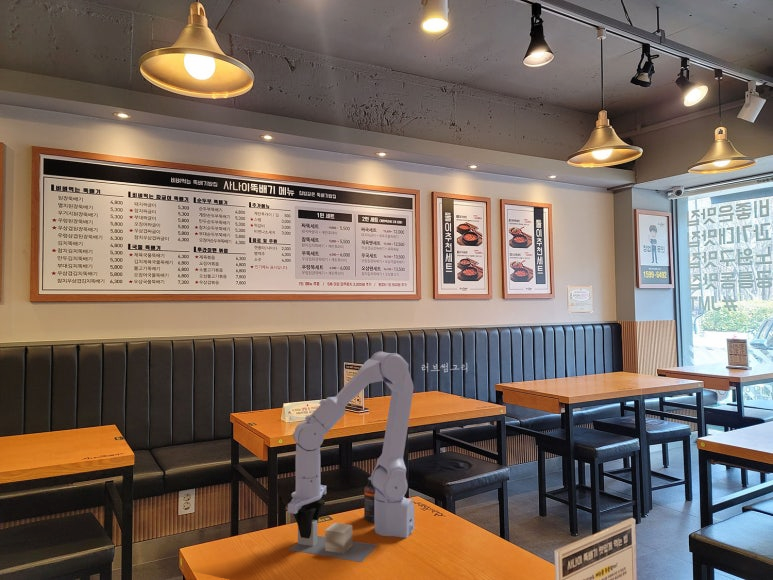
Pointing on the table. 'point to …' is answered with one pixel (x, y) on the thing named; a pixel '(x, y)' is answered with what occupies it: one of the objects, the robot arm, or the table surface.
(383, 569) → the table surface
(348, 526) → the birch block
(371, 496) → the supplement bottle
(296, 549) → the gray plate with post
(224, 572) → the table surface
